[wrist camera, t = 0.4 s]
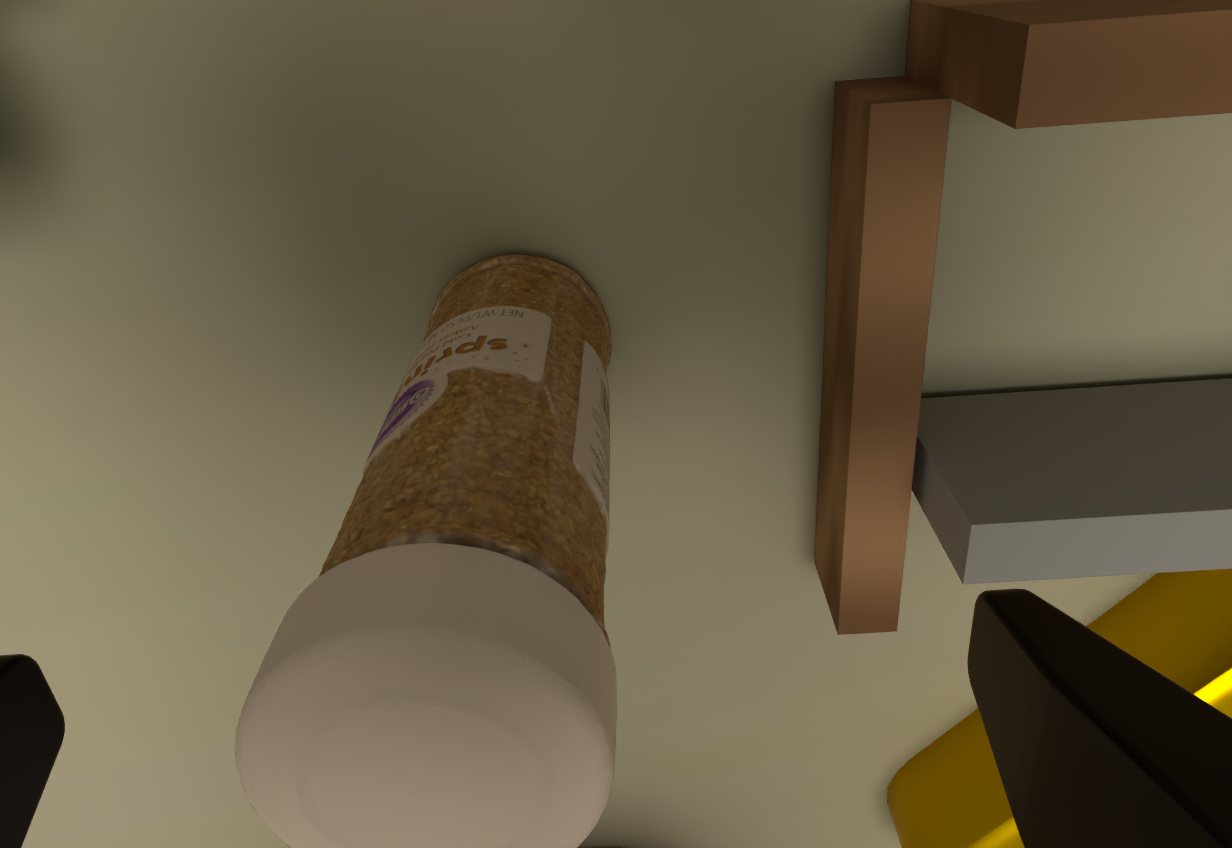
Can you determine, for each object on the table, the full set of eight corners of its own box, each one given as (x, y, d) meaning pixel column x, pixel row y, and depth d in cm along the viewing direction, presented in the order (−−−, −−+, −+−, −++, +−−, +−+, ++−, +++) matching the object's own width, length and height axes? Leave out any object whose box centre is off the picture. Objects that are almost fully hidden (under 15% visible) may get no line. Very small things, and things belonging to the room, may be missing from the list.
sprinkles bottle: (474, 215, 21) (294, 584, 9) (646, 301, 22) (688, 733, 10) (402, 374, 23) (176, 849, 11) (563, 445, 24) (517, 950, 12)
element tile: (1128, 945, 35) (1198, 1081, 31) (857, 786, 31) (896, 921, 27) (1502, 728, 30) (1651, 859, 25) (1238, 496, 25) (1365, 608, 21)
